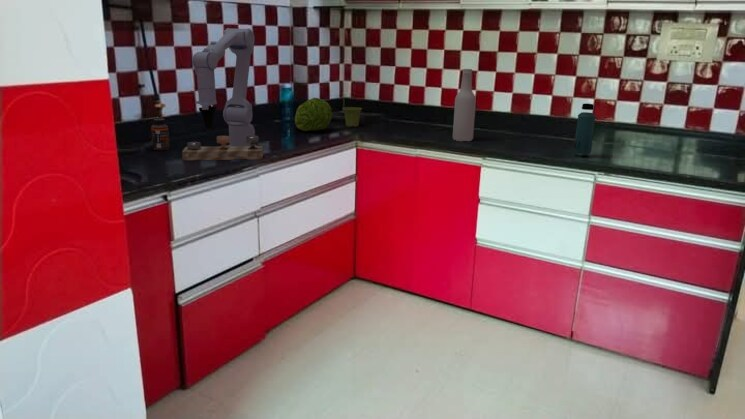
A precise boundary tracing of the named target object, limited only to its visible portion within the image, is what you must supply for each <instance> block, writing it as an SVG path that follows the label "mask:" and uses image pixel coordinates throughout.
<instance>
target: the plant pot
mask: <svg viewBox="0 0 745 419" xmlns="http://www.w3.org/2000/svg"><path fill="white" fill-rule="evenodd" d="M362 109H363V108H362V107H355V106H354V107H353V106H350V107H349V106H346V107H342V110H343V113H344V120H345V126H346V127H349V128H350V127H351V128H352V127H358V126H359V125H360V124H359V123H360V117H361V112H362Z"/></svg>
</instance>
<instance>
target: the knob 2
mask: <svg viewBox="0 0 745 419" xmlns="http://www.w3.org/2000/svg"><path fill="white" fill-rule="evenodd" d="M259 142H260V141H259V136H258V135H255V136H246V143H250V148H255V145H256V144H258V143H259Z"/></svg>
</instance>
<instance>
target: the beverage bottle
mask: <svg viewBox="0 0 745 419" xmlns="http://www.w3.org/2000/svg"><path fill="white" fill-rule="evenodd" d="M594 108H595V106H594V104H593V103H587V102H586V103H582V106H581V110H584V111H585V110H586V111H585V112H584V111H582V112H580V113H579V114H577V123H576V127H575V128H576V129H575V137H574V138H575V139H574V143H573V150H572V151H573V152H574V153H575V154H582V155H589V154H591V153H592V148H593V147H592V146H593V138H594V128H595V122H596V114H594V113H593V112H588V111H593V110H594Z"/></svg>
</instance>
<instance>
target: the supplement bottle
mask: <svg viewBox="0 0 745 419" xmlns="http://www.w3.org/2000/svg"><path fill="white" fill-rule="evenodd" d="M152 122H153V124H152V125H151V128H150V130H151V142H152V143H151V144H152V149H153V150H154V151H168V150H170V148H171V146H170V145H171V144H170V143H171V142H170V134H169V133H170V132H169V131H170V130H169V126H168V124H166V119H165V118H154V119H153V121H152Z"/></svg>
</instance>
